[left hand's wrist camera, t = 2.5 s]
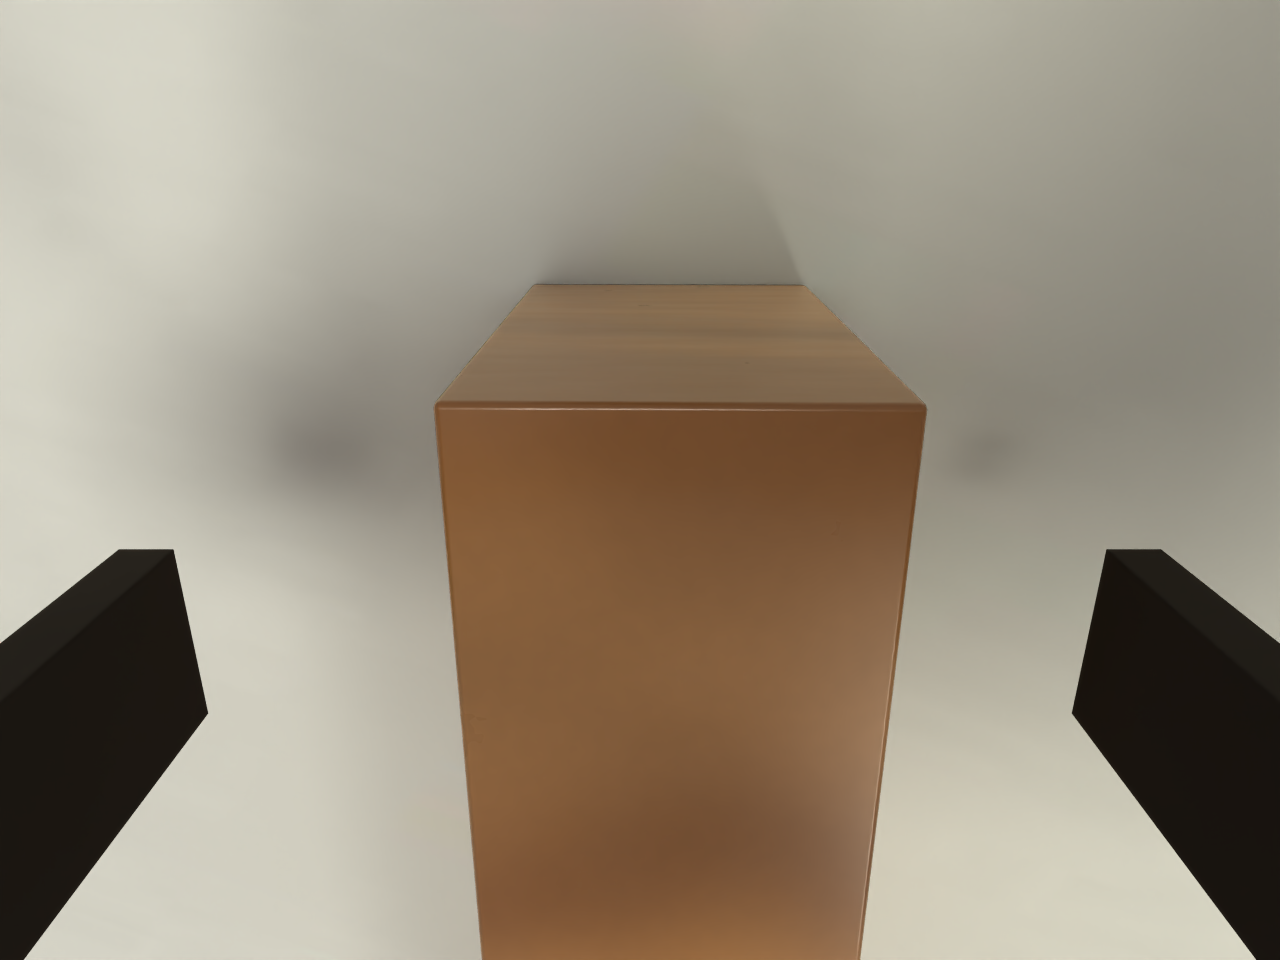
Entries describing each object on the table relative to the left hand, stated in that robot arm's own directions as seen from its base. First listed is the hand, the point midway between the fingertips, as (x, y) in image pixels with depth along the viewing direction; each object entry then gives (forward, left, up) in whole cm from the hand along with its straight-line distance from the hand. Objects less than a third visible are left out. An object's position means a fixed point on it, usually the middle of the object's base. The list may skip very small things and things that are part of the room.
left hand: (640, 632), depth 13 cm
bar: (+2, +9, -7) cm, 11 cm away
